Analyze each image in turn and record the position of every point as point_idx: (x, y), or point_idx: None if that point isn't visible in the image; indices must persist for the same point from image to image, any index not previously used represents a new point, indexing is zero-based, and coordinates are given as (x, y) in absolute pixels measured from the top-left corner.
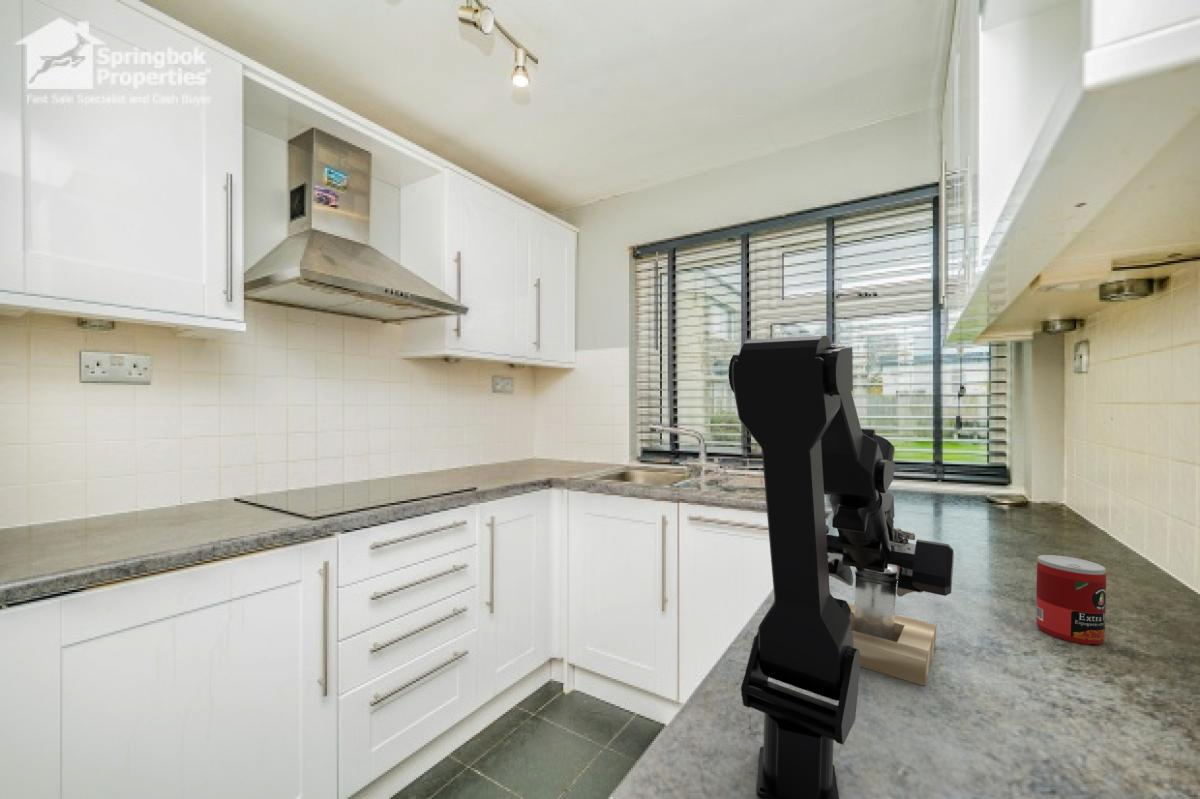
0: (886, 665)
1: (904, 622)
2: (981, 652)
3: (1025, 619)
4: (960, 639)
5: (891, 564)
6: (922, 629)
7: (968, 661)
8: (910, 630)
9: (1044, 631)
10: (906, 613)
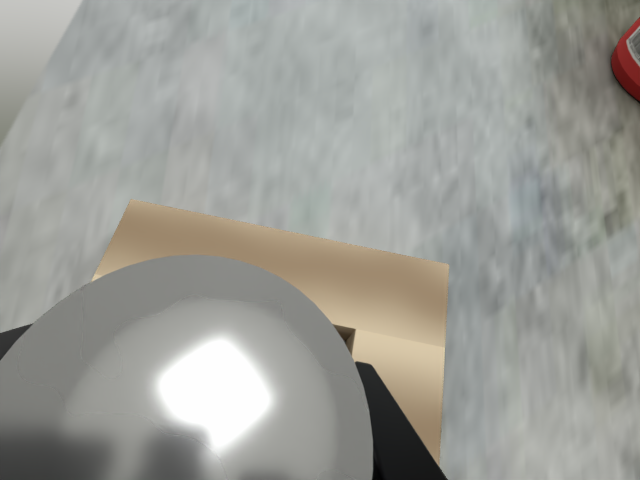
0: None
1: (355, 300)
2: (525, 270)
3: (586, 40)
4: (478, 210)
5: (321, 390)
6: (409, 337)
7: (502, 353)
8: None
9: (626, 88)
10: (359, 106)
